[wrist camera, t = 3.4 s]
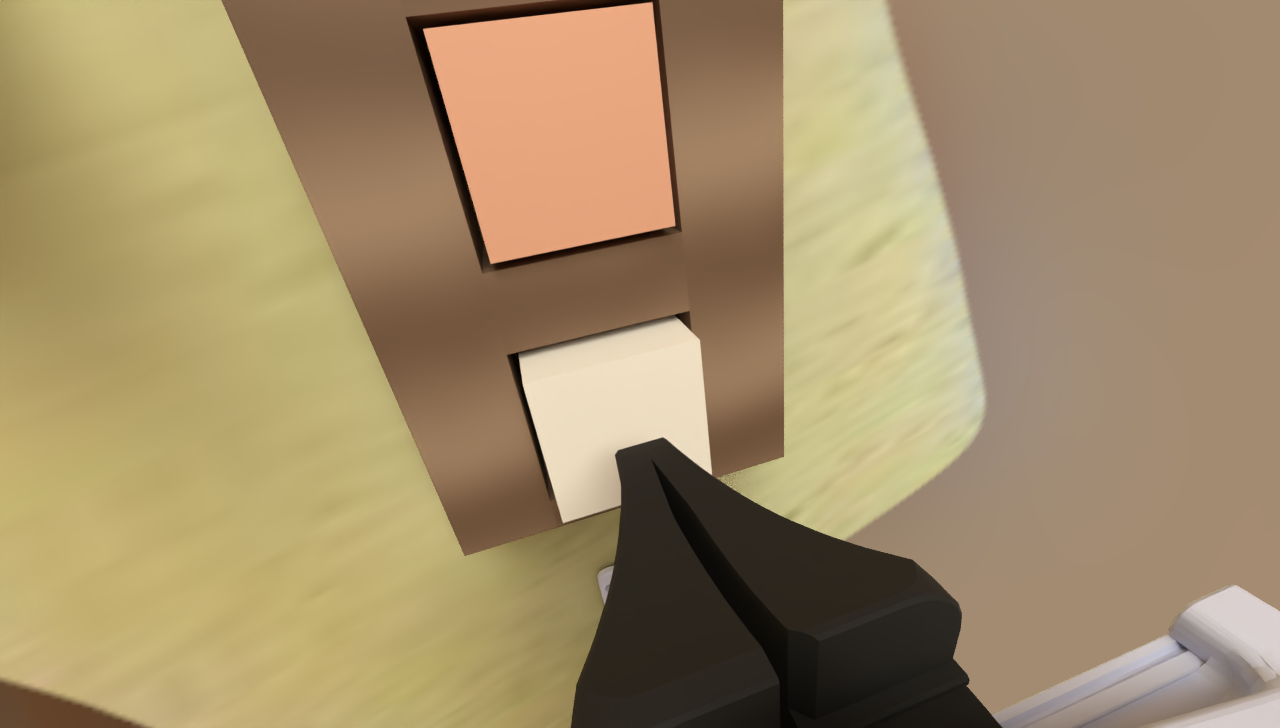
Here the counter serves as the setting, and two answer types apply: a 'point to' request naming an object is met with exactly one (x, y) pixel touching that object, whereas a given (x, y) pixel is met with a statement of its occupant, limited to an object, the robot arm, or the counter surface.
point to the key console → (544, 283)
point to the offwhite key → (614, 406)
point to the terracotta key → (558, 126)
